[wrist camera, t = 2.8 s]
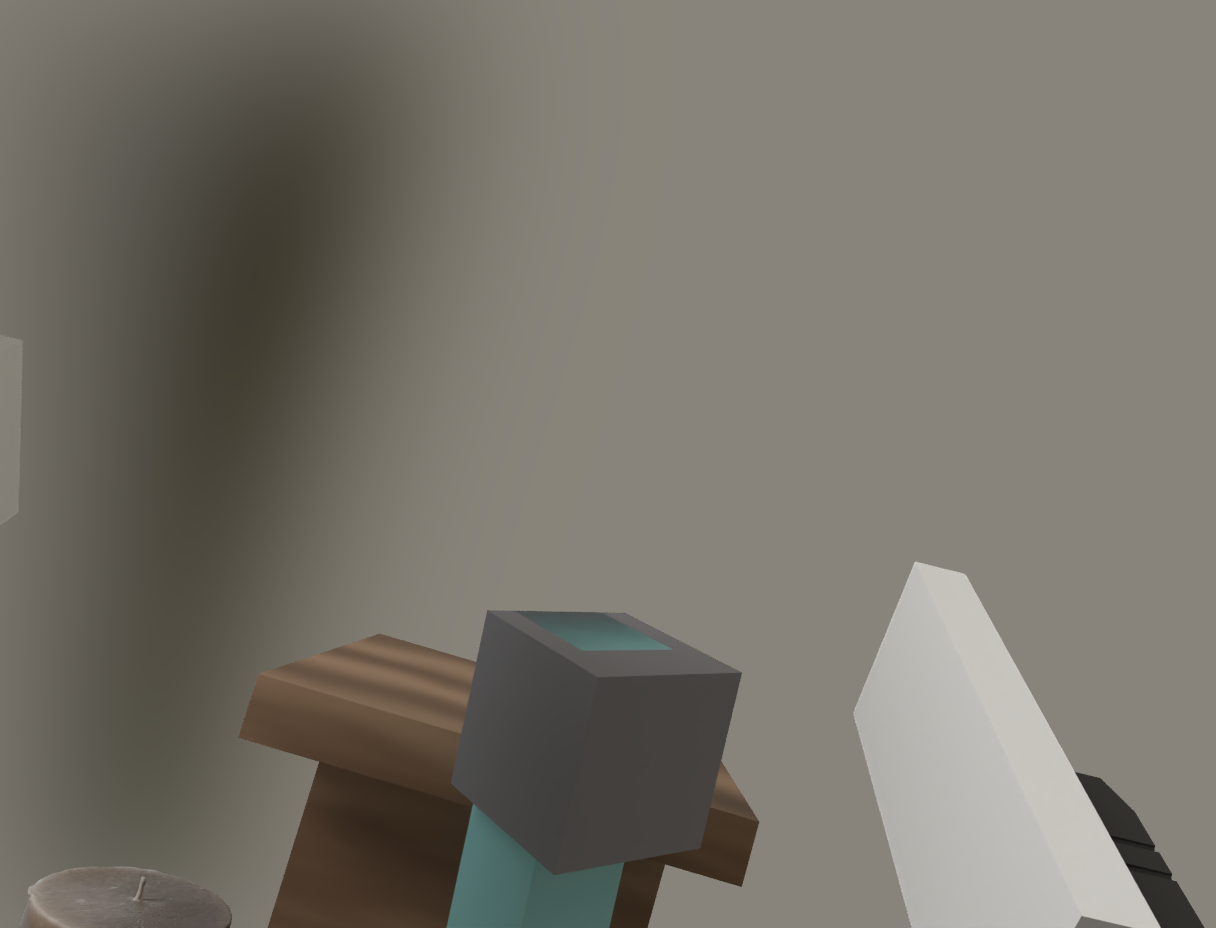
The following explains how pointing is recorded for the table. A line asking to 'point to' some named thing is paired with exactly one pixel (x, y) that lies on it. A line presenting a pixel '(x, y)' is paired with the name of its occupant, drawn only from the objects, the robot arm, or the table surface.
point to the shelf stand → (414, 792)
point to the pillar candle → (122, 901)
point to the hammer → (581, 763)
